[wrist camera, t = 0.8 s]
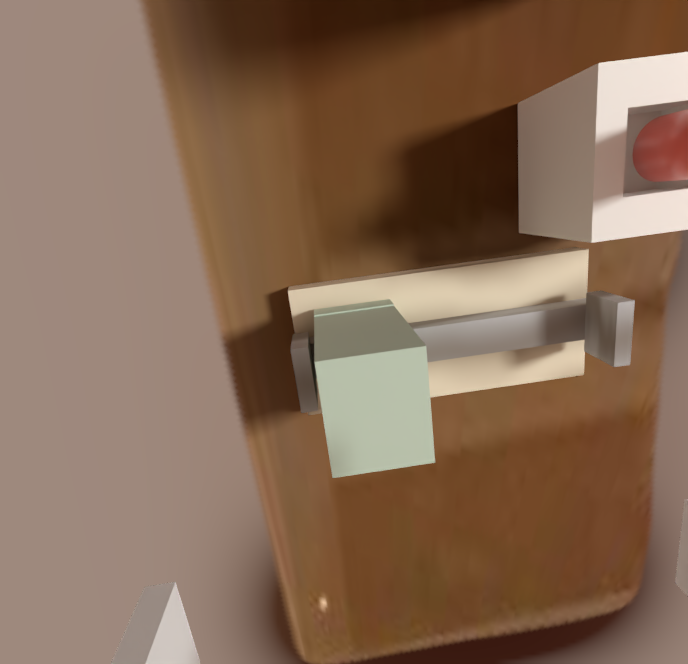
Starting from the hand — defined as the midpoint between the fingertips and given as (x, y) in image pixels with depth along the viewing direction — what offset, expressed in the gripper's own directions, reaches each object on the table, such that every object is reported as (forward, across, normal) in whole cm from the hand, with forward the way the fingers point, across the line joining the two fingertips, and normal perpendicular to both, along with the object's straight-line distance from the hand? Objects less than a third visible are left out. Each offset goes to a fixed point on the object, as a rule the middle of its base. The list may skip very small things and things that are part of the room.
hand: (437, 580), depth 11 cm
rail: (+20, +6, 0) cm, 21 cm away
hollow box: (+20, +15, +10) cm, 27 cm away
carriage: (+19, 0, 0) cm, 19 cm away
